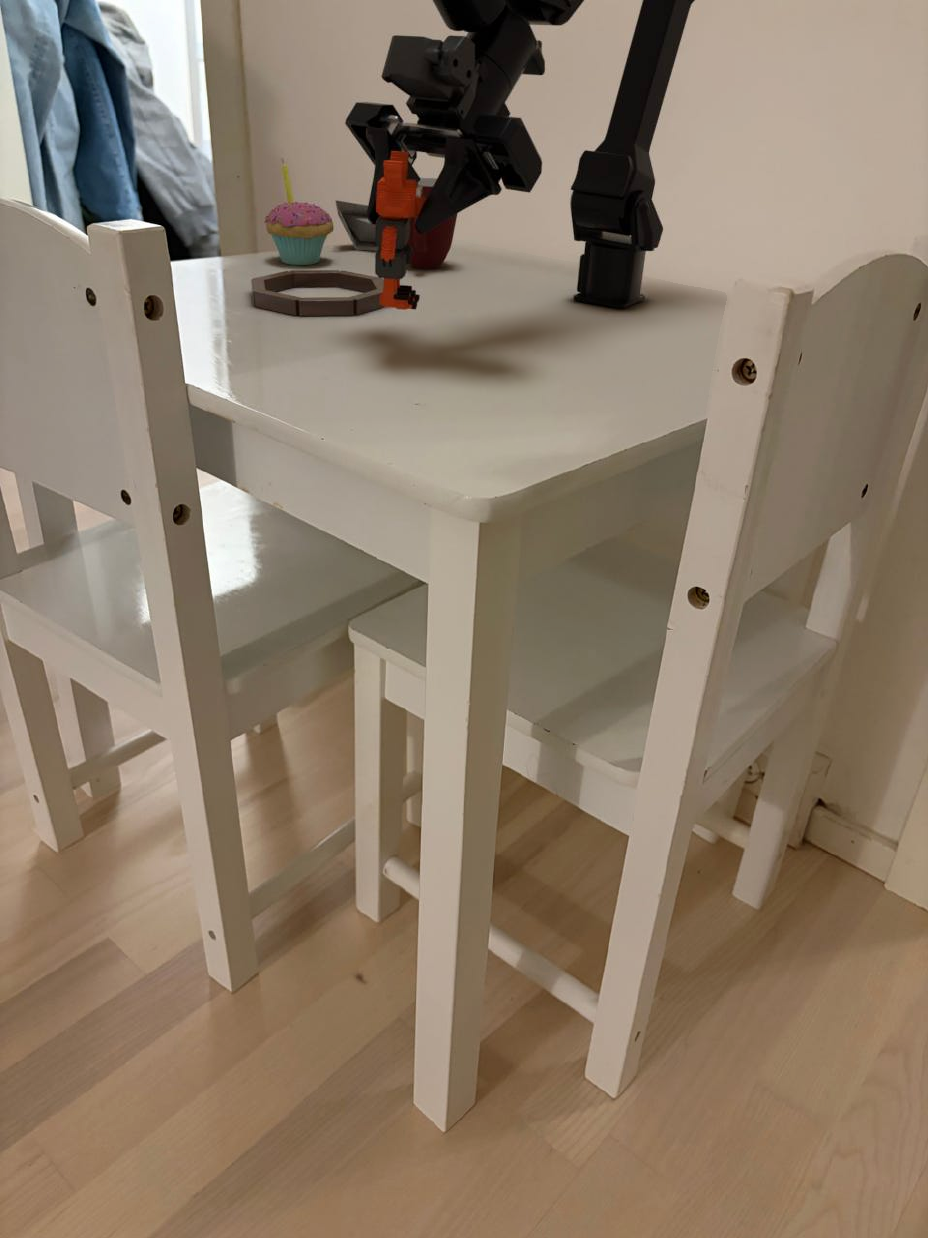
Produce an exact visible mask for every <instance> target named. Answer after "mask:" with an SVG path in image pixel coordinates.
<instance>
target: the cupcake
mask: <svg viewBox="0 0 928 1238" xmlns="http://www.w3.org/2000/svg"><path fill="white" fill-rule="evenodd" d="M281 162H282V165H281V171H282V176H283V181H284V188H285V192H286V199H287V202H283V203H281V204H279V205H276V206H275V207H274V208H272V210H270V211H269V212H268V214H267V215H266V216H265V217H264V224H265V229H266V231H267V234H269V235H270V236H271V238H272V240H273V242H274V245H275V247H276V249H277V251H278V255H279V257H280V260H281V263H284V264H285V265H286V264H287V265H291V266H310V265H311V266H312V265H316V264H318V263H319V262H320V258H321V255H322V250H323V248H324V244H325V241H326V239H327V237H328V235H330V234H331V233H333V232H334V229H335V228H334V222H333V218H332V216H331V215H330V214H329V212H328V211H327V210H324V209H323V208H322V207H321V206H319V205H318V206H317V205H316V204H314V203H313V204H311V203H308V202H301V201H299V202H297V201H294V197H293V192H292V186H291V181H290V175H289V169H288V165H287V164H285V161H284V158H283V157H281Z"/></svg>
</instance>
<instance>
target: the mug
mask: <svg viewBox="0 0 928 1238" xmlns="http://www.w3.org/2000/svg"><path fill="white" fill-rule="evenodd" d="M420 179H421V180H420V181H419V182H418V185H422V187H423V189H422V194H424V197H426V199H427V197H428V195H429V193H430V191H431V189H432V187H433V186H434V184H435V182H436V180H437V178H434V177H420ZM458 214H459V213H457V214H455V215H454V216H452V217H451V218H449V219H447V220H446V221H444V222H443V223H441V224H439V225H438V226H436V227H435V228H433V229H431V230H430V231H428V232H427V233H425V234H419V233H418V232H417V230H416V229H415V226H414V225H415V222H416V220H417V217H418V216H415V217H410V235H409V239H408V242H407V243H408V244H410V245H409V246H412V252H413V254H412V255H411V259H410V264H409V265H410V266H411V267H412V268H415V269H424V270H436V269H439V268H441V267H442V266H443V264H444V262H445V260H446V258H447V256H448V254H449V252H450V249H451V247H452V245H453V239H454V235H455V228H456V223H457V220H458V219H457V218H458Z"/></svg>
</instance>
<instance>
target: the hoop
mask: <svg viewBox="0 0 928 1238" xmlns="http://www.w3.org/2000/svg"><path fill="white" fill-rule="evenodd" d="M250 282H251V283H250V284H251V295H252V304H253V307H255V308H259V309H262V310H267V311H272V312H277V313H282V314H285V315H286V314H287V315H291V316H295V317H297V316H299V317H332V316H334V317H336V316H341V317H342V316H354V315H356V316H358V315H362V314H366V313H368V312H372V311H375V310H378V309H382V308H384V307H383V305H380V294H382V292H383V287H384V278H379V277H378V276H375V275H368V274H363V273H358V272H352V271H347V270H339V269H318V270H317V269H316V270H315V269H314V270H313V269H312V270H311V269H309V270H308V269H307V270H306V269H304V270H302V269H295V270H294V269H293V270H285V271H280V272H276V273H271V274H266V275H262V276H258V277H254V278H251V280H250ZM292 288H342V289H347V290H352V291H357V292H361V293H358V294H355V295H351V296H344V297H343V296H341V297H339V296H334V297H333V296H329V297H327V296H326V297H325V296H323V297H320V296H319V297H318V296H317V297H313V296H311V297H300V296H295V295H290V294H286V293H282V292H279V291H284V290H288V289H292Z"/></svg>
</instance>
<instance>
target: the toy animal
mask: <svg viewBox="0 0 928 1238" xmlns="http://www.w3.org/2000/svg"><path fill="white" fill-rule="evenodd" d="M408 159H409V154H408V152H401V151H391V157H390V161H388V160H386V161H384V164H383V166H384V177H382V178H381V179H380V180H379V181H378V185H377V198H376V212H378V215H380V216H379V218H378V219H377V221H376V230H375V243H376V244H378V247H379V248H378V250H377V251H375V256H374V257H375V258H374V274H375V275H374V276H377V277H379V278H383V279H384V287H383V292H382V294H380V305H383V307H382V308H395V309H396V310H404V311H405V310H417V307H418V303H419V302H420V300H421V299H420V296H421V294H417V290H416V289H413V286H412V285H407V284H401V280H403V279H404V278H405V277H406V274H407V271H408V269H409V265H410V259H411V255H412V254H413V252H412V246H409V245H410V244H408V243H407V242H408V239H409V235H410V217H415V216H418V215H419V213H420V210H421V208H422V206H423V204H424V203H425V201H426V197H424V194H422V189H423V187H422V185H418V182H416V180H410V179H407V171H408Z"/></svg>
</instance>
